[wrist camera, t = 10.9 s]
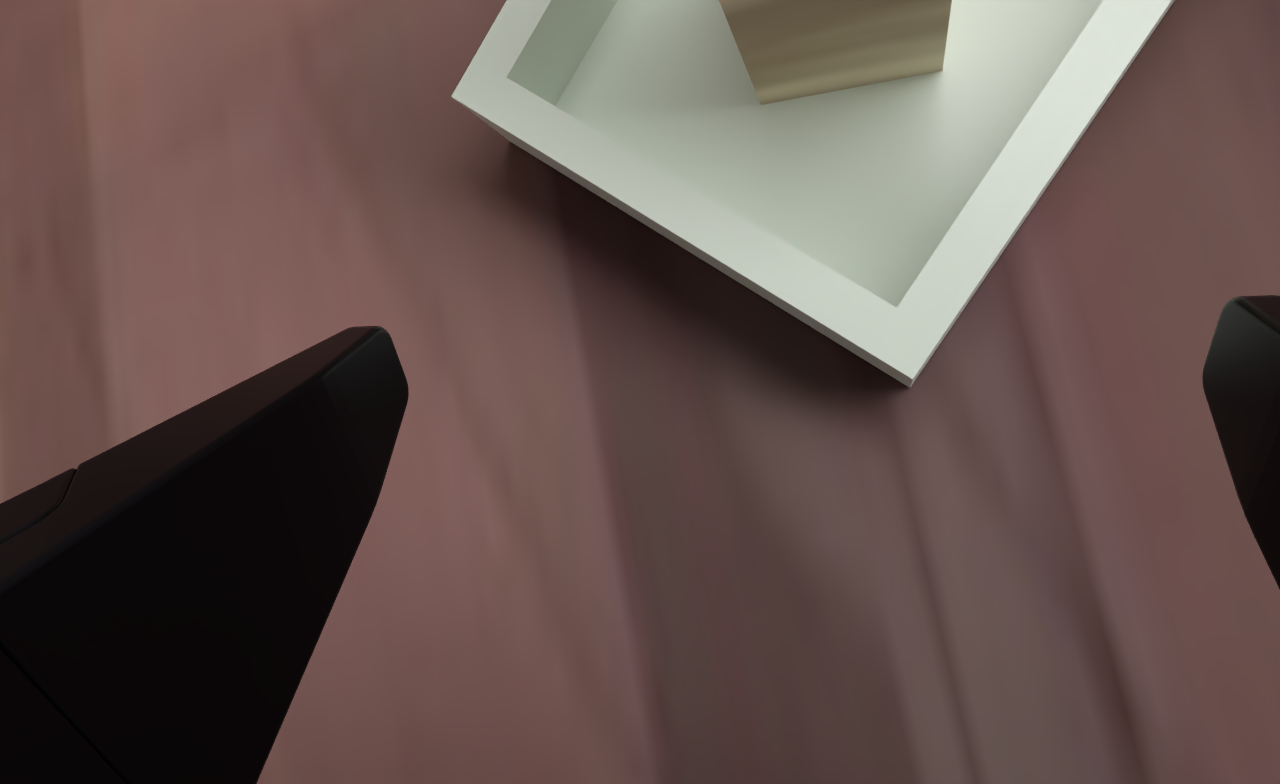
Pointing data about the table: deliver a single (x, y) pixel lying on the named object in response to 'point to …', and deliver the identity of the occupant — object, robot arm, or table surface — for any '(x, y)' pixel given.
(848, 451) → the table surface
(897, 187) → the tray
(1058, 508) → the table surface
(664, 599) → the table surface
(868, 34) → the handle block
